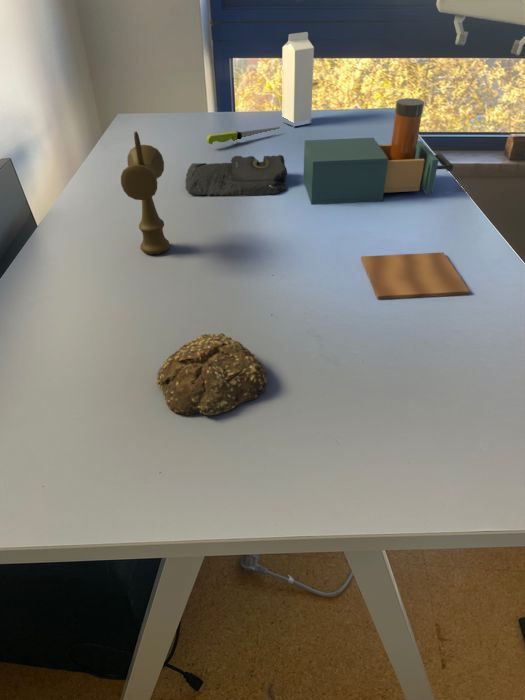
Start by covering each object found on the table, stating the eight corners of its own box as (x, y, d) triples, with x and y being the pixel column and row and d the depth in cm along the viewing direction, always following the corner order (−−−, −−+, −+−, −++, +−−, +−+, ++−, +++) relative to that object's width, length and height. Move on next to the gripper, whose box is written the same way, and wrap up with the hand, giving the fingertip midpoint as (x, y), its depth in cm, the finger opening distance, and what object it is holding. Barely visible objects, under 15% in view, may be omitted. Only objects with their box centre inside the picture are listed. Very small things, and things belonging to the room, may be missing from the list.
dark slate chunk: (189, 170, 119) (187, 149, 116) (284, 168, 119) (284, 147, 116) (183, 197, 108) (180, 175, 105) (288, 194, 108) (288, 172, 105)
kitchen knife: (277, 137, 140) (278, 125, 138) (280, 138, 139) (281, 127, 138) (206, 147, 130) (206, 134, 128) (208, 148, 129) (208, 136, 127)
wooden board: (442, 255, 87) (443, 252, 87) (469, 294, 78) (470, 291, 78) (360, 259, 87) (361, 256, 86) (377, 299, 77) (378, 296, 77)
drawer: (434, 171, 114) (440, 139, 109) (452, 192, 105) (460, 158, 100) (355, 175, 113) (358, 143, 109) (366, 196, 104) (370, 162, 100)
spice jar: (407, 173, 110) (419, 97, 101) (414, 182, 106) (428, 104, 97) (383, 174, 110) (393, 98, 100) (389, 183, 106) (400, 105, 96)
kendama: (174, 235, 94) (158, 121, 82) (170, 262, 87) (151, 140, 74) (142, 237, 94) (120, 122, 82) (134, 263, 87) (110, 142, 74)
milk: (311, 124, 145) (315, 33, 131) (293, 128, 143) (295, 35, 128) (299, 119, 149) (301, 30, 135) (281, 122, 147) (282, 32, 132)
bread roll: (224, 338, 71) (222, 308, 68) (280, 387, 63) (280, 356, 60) (140, 376, 65) (133, 346, 62) (190, 436, 57) (185, 404, 54)
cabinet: (368, 177, 114) (373, 137, 109) (382, 201, 104) (388, 158, 99) (303, 180, 114) (304, 140, 108) (311, 204, 104) (312, 161, 98)
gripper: (592, -47, 78) (553, 53, 88) (456, -62, 84) (435, 33, 94) (587, -37, 74) (547, 66, 84) (446, -54, 80) (425, 44, 91)
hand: (487, 48), depth 89 cm, fingers open, 8 cm apart
